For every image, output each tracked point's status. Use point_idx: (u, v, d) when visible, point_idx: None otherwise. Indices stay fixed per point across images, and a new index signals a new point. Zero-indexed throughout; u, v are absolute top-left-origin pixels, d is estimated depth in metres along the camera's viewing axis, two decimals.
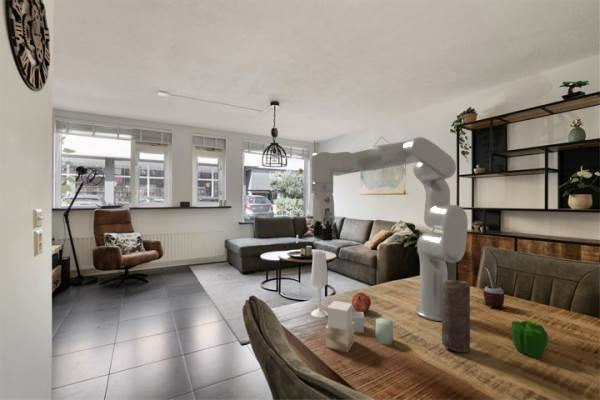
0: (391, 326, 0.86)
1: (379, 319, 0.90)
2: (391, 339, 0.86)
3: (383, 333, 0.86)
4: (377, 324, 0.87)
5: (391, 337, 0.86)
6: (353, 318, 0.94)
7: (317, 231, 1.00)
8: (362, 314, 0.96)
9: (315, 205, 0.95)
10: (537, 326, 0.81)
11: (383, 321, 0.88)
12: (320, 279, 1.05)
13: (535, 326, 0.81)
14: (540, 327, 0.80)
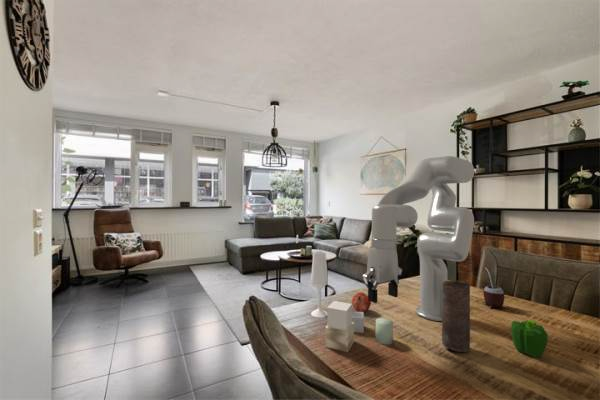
0: (391, 326, 0.86)
1: (379, 319, 0.90)
2: (391, 339, 0.86)
3: (383, 333, 0.86)
4: (377, 324, 0.87)
5: (391, 337, 0.86)
6: (353, 318, 0.94)
7: None
8: (362, 314, 0.96)
9: (390, 264, 0.86)
10: (537, 326, 0.81)
11: (383, 321, 0.88)
12: (320, 279, 1.05)
13: (535, 326, 0.81)
14: (540, 327, 0.80)
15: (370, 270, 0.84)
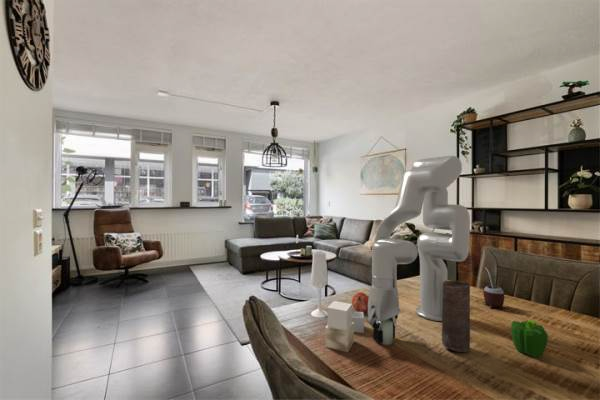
0: (391, 326, 0.86)
1: None
2: (391, 339, 0.86)
3: (383, 333, 0.86)
4: None
5: (391, 337, 0.86)
6: (353, 318, 0.94)
7: None
8: (362, 314, 0.96)
9: (390, 302, 0.86)
10: (537, 326, 0.81)
11: (383, 321, 0.88)
12: (320, 279, 1.05)
13: (535, 326, 0.81)
14: (540, 327, 0.80)
15: (372, 312, 0.85)
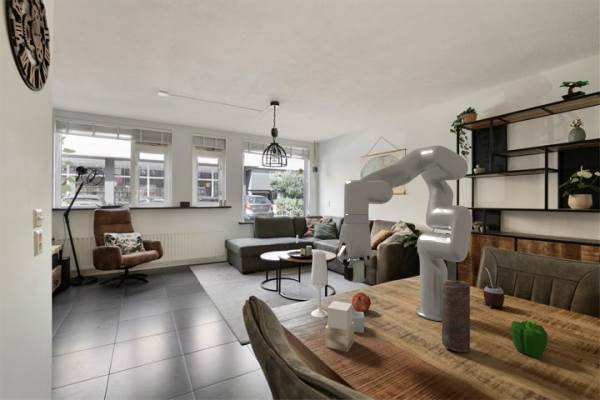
0: (362, 264, 0.84)
1: None
2: (362, 277, 0.84)
3: (354, 271, 0.84)
4: None
5: (362, 275, 0.84)
6: (353, 318, 0.94)
7: None
8: (362, 314, 0.96)
9: (361, 239, 0.84)
10: (537, 326, 0.81)
11: (354, 260, 0.86)
12: (320, 279, 1.05)
13: (535, 326, 0.81)
14: (540, 327, 0.80)
15: (342, 248, 0.83)
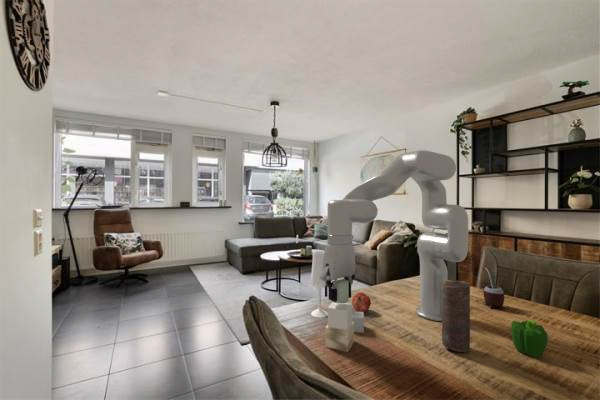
0: (346, 284, 0.84)
1: None
2: (346, 298, 0.84)
3: (337, 292, 0.84)
4: None
5: (346, 296, 0.84)
6: (353, 318, 0.94)
7: None
8: (362, 314, 0.96)
9: (345, 259, 0.84)
10: (537, 326, 0.81)
11: (338, 280, 0.86)
12: (320, 279, 1.05)
13: (535, 326, 0.81)
14: (540, 327, 0.80)
15: (326, 269, 0.83)
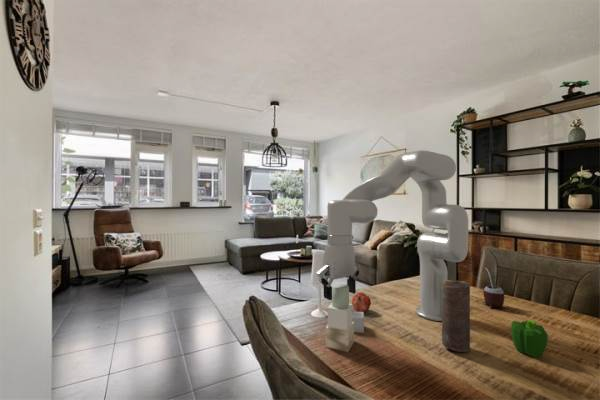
0: (346, 290, 0.84)
1: (336, 284, 0.87)
2: (346, 303, 0.84)
3: (338, 297, 0.83)
4: (333, 288, 0.85)
5: (347, 301, 0.84)
6: (353, 318, 0.94)
7: None
8: (362, 314, 0.96)
9: (345, 260, 0.84)
10: (537, 326, 0.81)
11: (339, 286, 0.86)
12: None
13: (535, 326, 0.81)
14: (540, 327, 0.80)
15: (324, 267, 0.82)
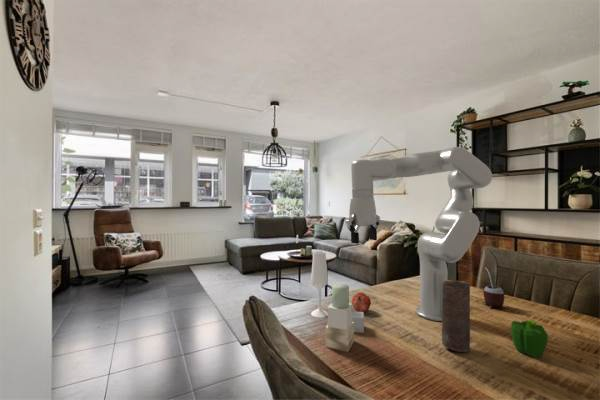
0: (346, 290, 0.84)
1: (336, 284, 0.88)
2: (346, 303, 0.84)
3: (338, 297, 0.84)
4: (332, 288, 0.85)
5: (346, 301, 0.84)
6: (353, 318, 0.94)
7: None
8: (362, 314, 0.96)
9: (368, 210, 0.99)
10: (537, 326, 0.81)
11: (339, 286, 0.86)
12: (320, 279, 1.05)
13: (535, 326, 0.81)
14: (540, 327, 0.80)
15: (352, 216, 0.97)
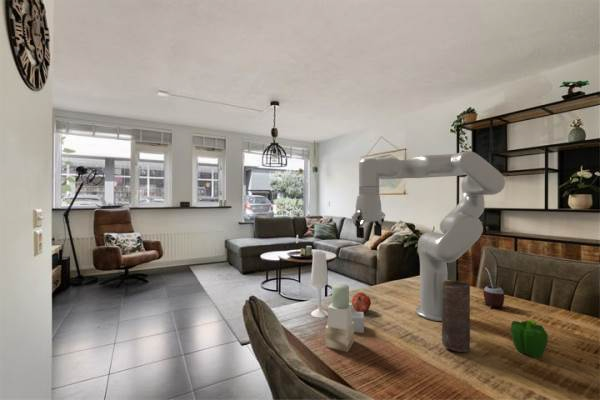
0: (346, 290, 0.84)
1: (336, 284, 0.88)
2: (346, 303, 0.84)
3: (338, 297, 0.84)
4: (333, 288, 0.85)
5: (347, 301, 0.84)
6: (353, 318, 0.94)
7: None
8: (362, 314, 0.96)
9: (374, 206, 1.04)
10: (537, 326, 0.81)
11: (339, 286, 0.86)
12: (320, 279, 1.05)
13: (535, 326, 0.81)
14: (540, 327, 0.80)
15: (358, 211, 1.02)
